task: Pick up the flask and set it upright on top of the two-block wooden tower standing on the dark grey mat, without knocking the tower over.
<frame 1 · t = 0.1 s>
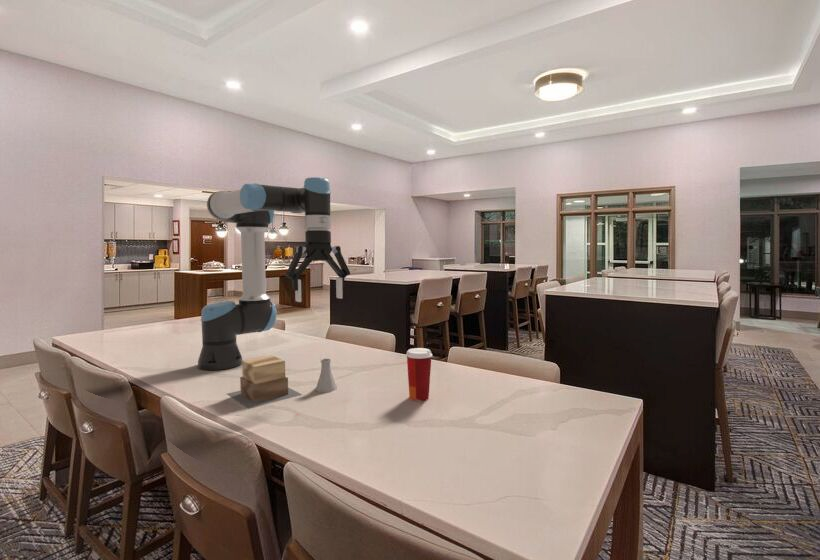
hand: (319, 299, 133), 28 cm above the table, tool pointing down, fingers open, 13 cm apart
grey mat: (264, 397, 127), on the table
oak block: (263, 377, 127), point 6 cm above the table, touching walnut block
flask: (326, 392, 132), on the table
paper cup: (418, 398, 127), on the table
walnut block: (264, 394, 127), point 1 cm above the table, touching grey mat, oak block
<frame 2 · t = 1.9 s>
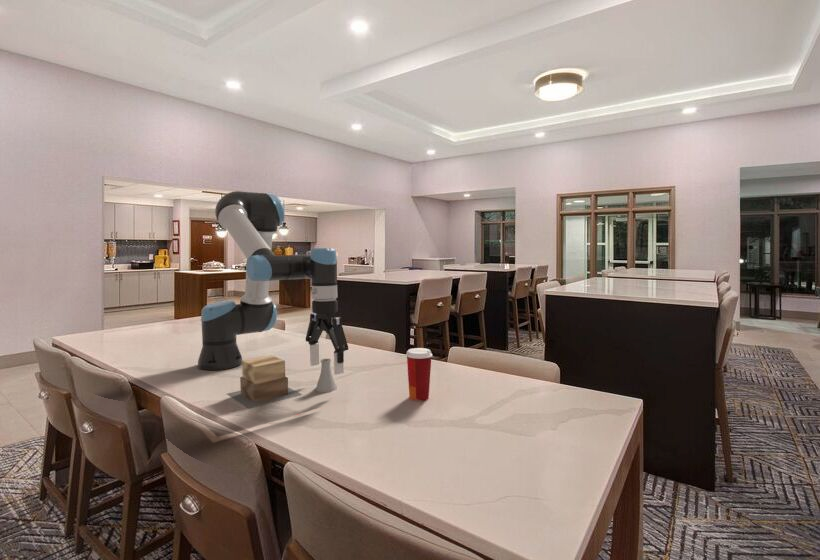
hand: (326, 369, 131), 7 cm above the table, tool pointing down, fingers open, 13 cm apart
nothing on the table moved.
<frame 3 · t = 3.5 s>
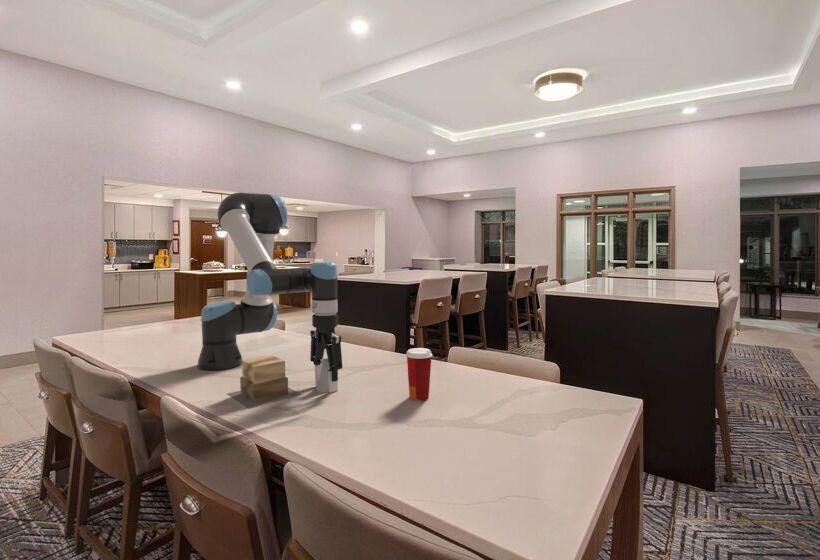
hand: (326, 388, 132), 1 cm above the table, tool pointing down, fingers closed on flask, 7 cm apart
flask: (326, 392, 132), on the table, touching gripper
everything else where it was.
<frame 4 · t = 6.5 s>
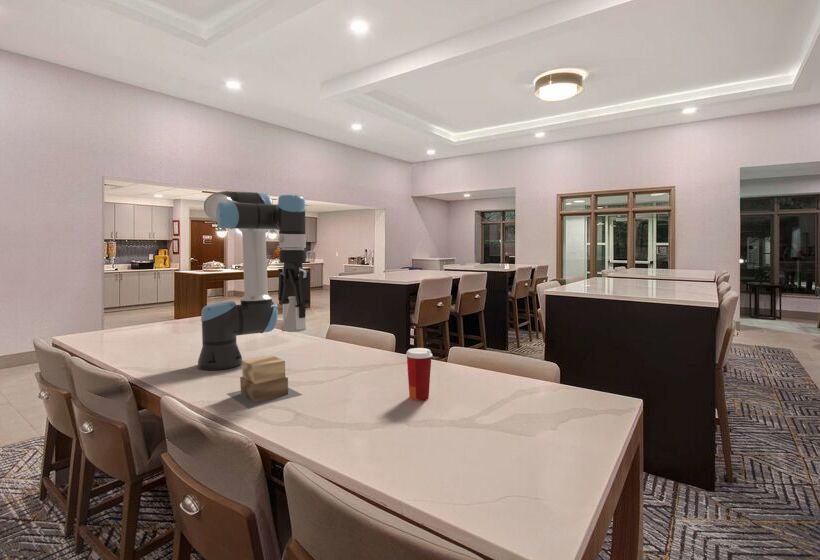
hand: (294, 326, 128), 20 cm above the table, tool pointing down, fingers closed on flask, 7 cm apart
flask: (294, 331, 128), point 19 cm above the table, touching gripper
everything else where it was.
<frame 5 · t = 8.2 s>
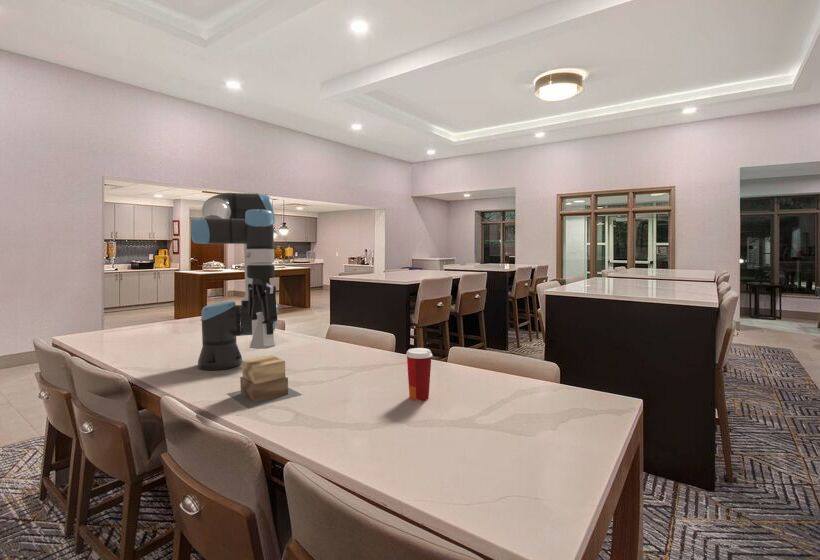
hand: (263, 343, 126), 16 cm above the table, tool pointing down, fingers closed on flask, 7 cm apart
flask: (263, 347, 126), point 15 cm above the table, touching gripper
everything else where it was.
when the fingers open (13 cm above the table, at t = 9.6 s): flask drops 1 cm, resting on oak block.
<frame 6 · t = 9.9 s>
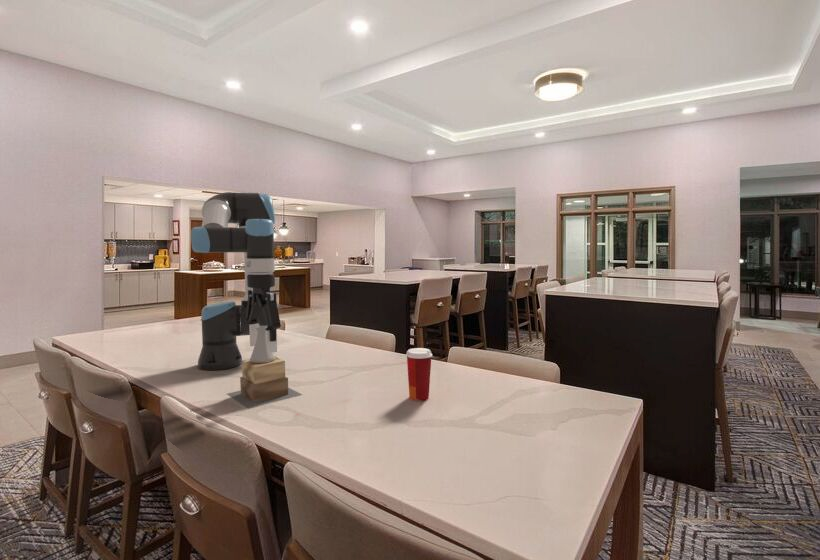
hand: (263, 348, 126), 14 cm above the table, tool pointing down, fingers open, 11 cm apart
oak block: (263, 377, 126), point 6 cm above the table, touching flask, walnut block
flask: (263, 361, 126), point 11 cm above the table, touching oak block
everything else where it was.
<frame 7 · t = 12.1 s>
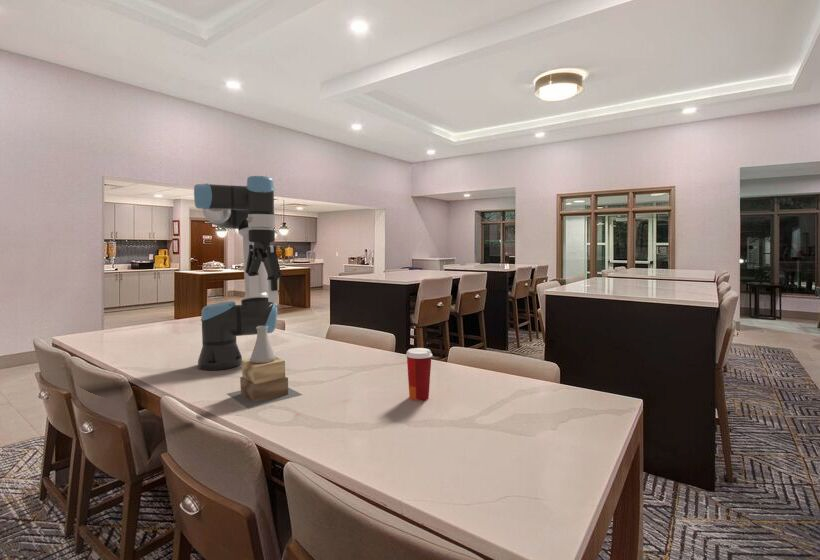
hand: (263, 299, 132), 28 cm above the table, tool pointing down, fingers open, 13 cm apart
nothing on the table moved.
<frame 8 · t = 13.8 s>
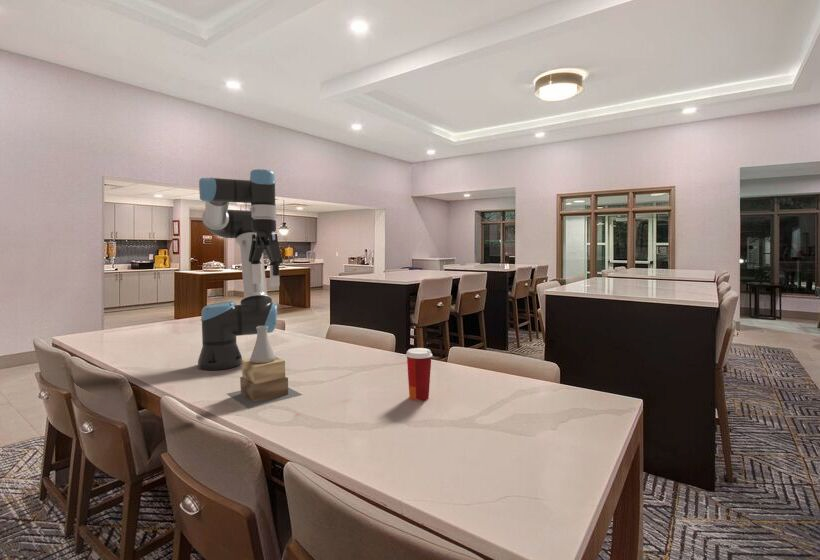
hand: (265, 284, 141), 32 cm above the table, tool pointing down, fingers open, 13 cm apart
nothing on the table moved.
at the end: flask 0.1 cm off-centre on the oak block, point 4.8 cm above the oak block's base; flask tilted 0°; oak block point 6.0 cm above the table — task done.
